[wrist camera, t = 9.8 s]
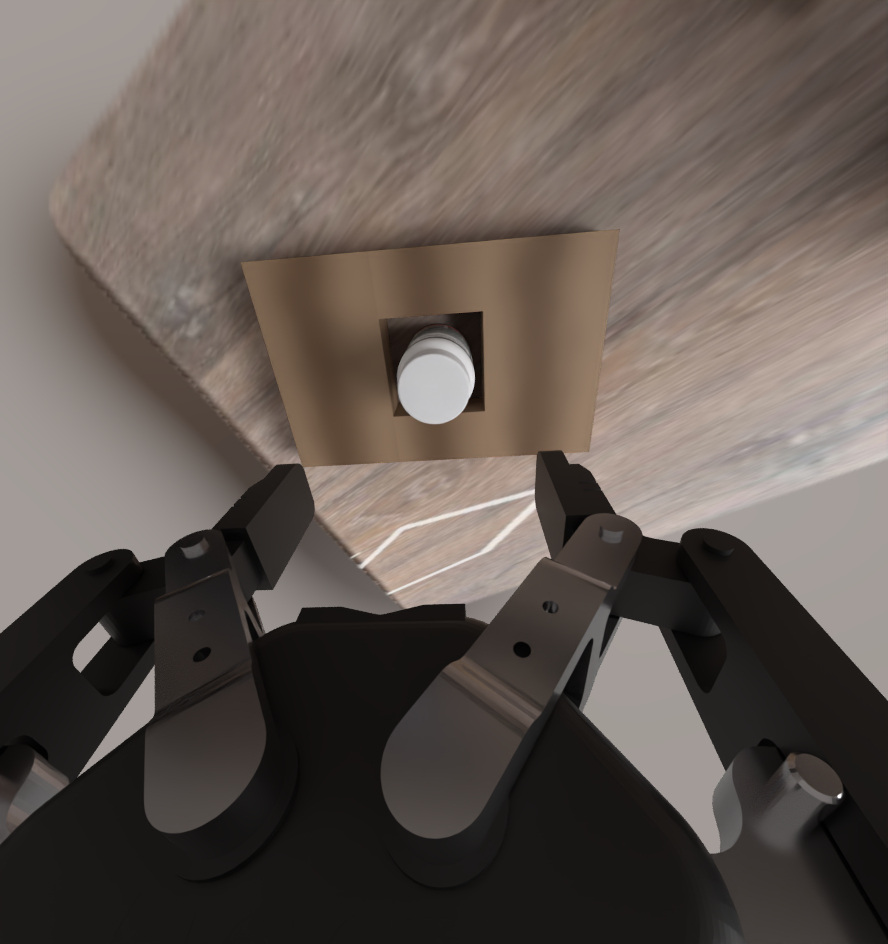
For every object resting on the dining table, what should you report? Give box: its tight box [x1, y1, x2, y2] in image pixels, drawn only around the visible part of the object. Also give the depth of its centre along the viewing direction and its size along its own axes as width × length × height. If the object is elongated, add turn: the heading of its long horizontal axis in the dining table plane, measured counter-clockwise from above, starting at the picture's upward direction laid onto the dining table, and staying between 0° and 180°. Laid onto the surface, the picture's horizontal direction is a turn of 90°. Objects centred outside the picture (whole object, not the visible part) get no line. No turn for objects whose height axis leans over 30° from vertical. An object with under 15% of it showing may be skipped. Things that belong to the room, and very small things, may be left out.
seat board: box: [241, 229, 620, 467], centre depth 26 cm, size 22×14×3 cm, turn 94°
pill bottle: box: [397, 324, 475, 424], centre depth 24 cm, size 5×5×8 cm
